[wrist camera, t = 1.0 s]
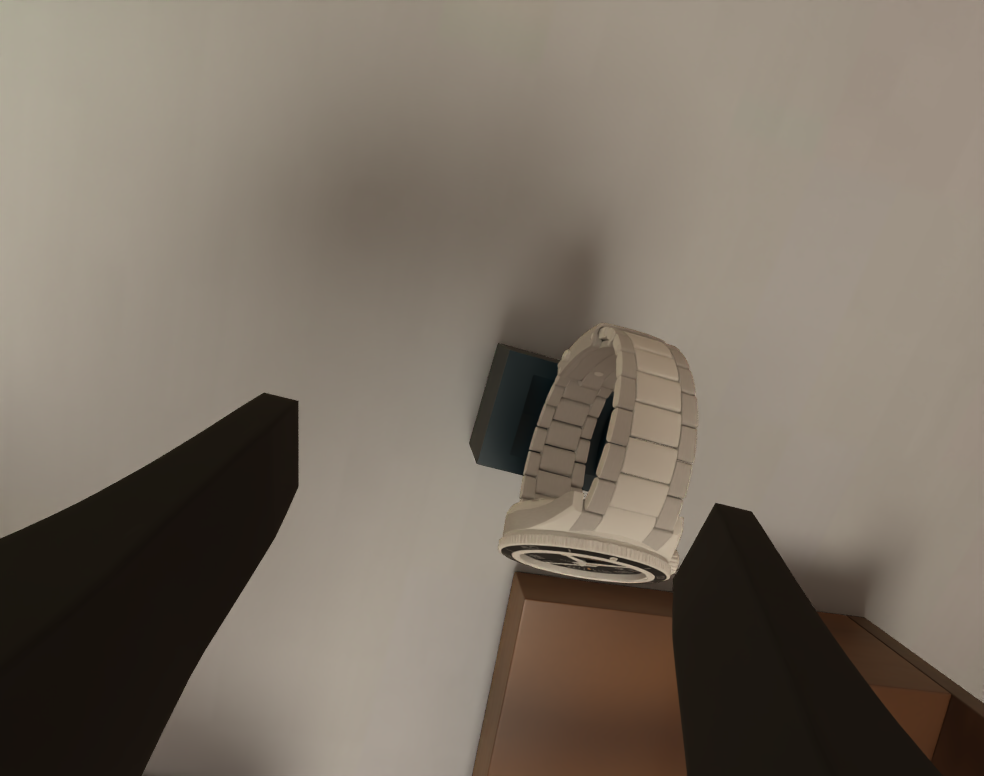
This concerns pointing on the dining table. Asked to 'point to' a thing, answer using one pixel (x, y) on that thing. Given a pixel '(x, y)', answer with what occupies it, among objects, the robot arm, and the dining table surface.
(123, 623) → the robot arm
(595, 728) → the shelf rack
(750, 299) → the dining table surface
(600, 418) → the watch
